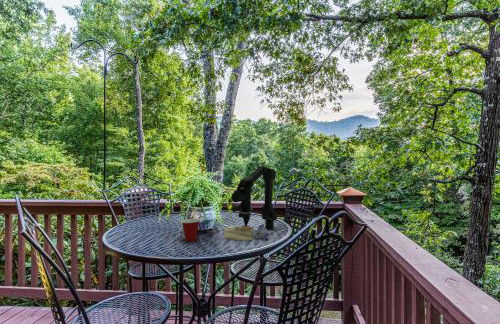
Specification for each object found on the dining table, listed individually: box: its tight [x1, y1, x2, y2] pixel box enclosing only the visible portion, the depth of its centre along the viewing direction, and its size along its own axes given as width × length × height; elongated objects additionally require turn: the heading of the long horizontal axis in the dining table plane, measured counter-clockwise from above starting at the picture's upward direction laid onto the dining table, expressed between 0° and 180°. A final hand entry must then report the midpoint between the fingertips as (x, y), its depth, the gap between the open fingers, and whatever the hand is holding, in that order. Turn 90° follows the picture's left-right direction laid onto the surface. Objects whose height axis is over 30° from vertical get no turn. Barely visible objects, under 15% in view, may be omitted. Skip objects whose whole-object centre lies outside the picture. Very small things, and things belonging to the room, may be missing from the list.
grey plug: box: [229, 225, 236, 230], centre depth 187 cm, size 4×4×5 cm
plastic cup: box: [180, 218, 201, 243], centre depth 180 cm, size 11×11×12 cm
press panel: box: [223, 225, 255, 241], centre depth 187 cm, size 12×16×5 cm
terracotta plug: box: [242, 224, 251, 230], centre depth 186 cm, size 4×4×5 cm
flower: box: [253, 223, 270, 240], centre depth 183 cm, size 9×9×10 cm
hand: (245, 226), depth 186 cm, fingers closed, pressing on terracotta plug
